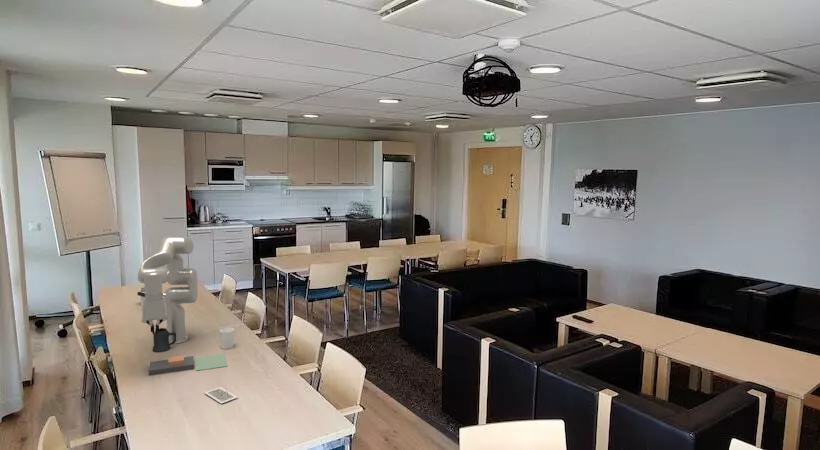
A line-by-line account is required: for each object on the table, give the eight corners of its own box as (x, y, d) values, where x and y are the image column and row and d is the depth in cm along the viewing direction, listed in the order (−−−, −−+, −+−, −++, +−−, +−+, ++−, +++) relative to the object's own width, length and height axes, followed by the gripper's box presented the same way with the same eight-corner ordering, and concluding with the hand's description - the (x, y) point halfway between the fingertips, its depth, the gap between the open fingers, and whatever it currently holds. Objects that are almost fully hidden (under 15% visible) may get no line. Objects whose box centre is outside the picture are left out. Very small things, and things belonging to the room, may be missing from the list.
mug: (152, 353, 258) (151, 333, 257) (152, 347, 266) (151, 328, 265) (177, 349, 264) (176, 330, 263) (175, 344, 272) (175, 325, 271)
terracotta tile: (168, 360, 243) (168, 357, 242) (183, 358, 246) (183, 355, 245) (168, 366, 236) (168, 362, 236) (184, 363, 239) (183, 360, 239)
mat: (194, 358, 253) (194, 357, 253) (224, 354, 260) (224, 353, 260) (195, 371, 237) (195, 370, 237) (227, 366, 244) (227, 365, 243)
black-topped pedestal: (177, 304, 353) (176, 287, 352) (141, 313, 331) (140, 294, 330) (155, 299, 368) (155, 282, 366) (120, 306, 346) (119, 288, 344)
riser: (150, 366, 241) (150, 361, 241) (193, 360, 250) (193, 355, 250) (148, 375, 231) (148, 370, 230) (194, 369, 239) (194, 364, 239)
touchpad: (221, 405, 204) (221, 401, 203) (204, 395, 213) (203, 390, 213) (238, 399, 210) (238, 394, 210) (220, 389, 219) (220, 384, 219)
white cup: (219, 349, 266) (218, 332, 265) (220, 345, 273) (220, 328, 272) (234, 348, 268) (233, 331, 267) (235, 344, 275) (235, 327, 274)
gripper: (171, 293, 240) (172, 328, 242) (136, 296, 233) (137, 332, 235) (171, 297, 233) (172, 333, 235) (135, 300, 227) (136, 337, 229)
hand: (155, 332), depth 235 cm, fingers closed
